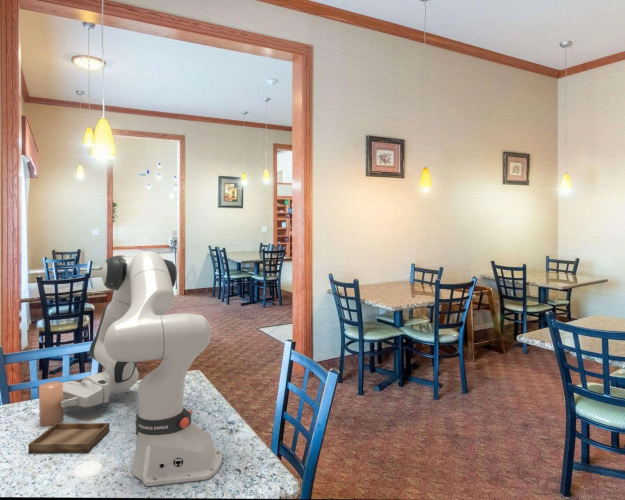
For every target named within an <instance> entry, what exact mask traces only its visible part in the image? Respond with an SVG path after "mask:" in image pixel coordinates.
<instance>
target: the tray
mask: <svg viewBox="0 0 625 500" xmlns="http://www.w3.org/2000/svg"><path fill="white" fill-rule="evenodd" d="M109 432H110V423H109V422H77V423H76V422H74V423H73V422H71V423H69V422H68V423H66V422H64V423H63V422H61V423H56V424H54V425H53V426H49V428H48V429H47V430H45V431H44V432H42V433H41V434H39V436H37V437H36V438H35V439H33V440H32V441H30V443H28V446H27V447H28V450H27V451H28V454H89V453H90V452H91V451H92V449H93V448H94V447H96V446H97V444H98V443H99V442H101V441H102V440H103V438H105V437H106V436H107V435H108V434H109Z"/></svg>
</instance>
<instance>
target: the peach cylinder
mask: <svg viewBox="0 0 625 500" xmlns="http://www.w3.org/2000/svg"><path fill="white" fill-rule="evenodd" d="M63 383H64V382H62V381H57V380H55V381H48V382H44V383H41V384H40V385H39V386H38V400H39V401H38V403H39V404H38V405H39V406H38V407H39V408H38V409H39V426H41V427H43V428H45V427H46V428H47V427H49V428H50V427H52V426H53V425H54V424H56V423H63V422H64V407H60V406H59V405H60V404H59V402H60V401H62V400H63Z"/></svg>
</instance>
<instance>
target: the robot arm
mask: <svg viewBox="0 0 625 500" xmlns="http://www.w3.org/2000/svg"><path fill="white" fill-rule="evenodd" d="M100 272H101V273H100V274H101V279H102V282H103V285H104V286H105V288H106V289H107V290H112V291H113V294H112V298H111V300H109V301H108V302H107V303H106V305H105V307H104V309H103V312H102V315H101V318H100V322H99V325H98V329H97V332H96V334H95V337H94V338H93V340H92V342H91V344H90V346H89V351H88V352H89V356H90V358H91V359H93V360H95V361H97V363H99V364H100V365H101V366H103V368H104V370H103V371H102V372H97V373H95V374H91V375H88V376H85V377H84V378H82V380H81V382H78V381H74V380H69V381H63V382H62V383H63V400H62V401H60V402H59V404H60V405H59V406H60V407H63V408H66V407H71V406H73V407H74V406H78V407H82V408H90V407H94V406H98V405H101V404H107V403H109V401H110V395H116V394H119V393H121V392H124V391H126V390H128V389H130V388H131V387H134V386H135V384H136V383H137V382H138V380H139V371H138V368H137V363H138V362H146V361H147V362H148V361H154V360H161V362H160V364H159V365H158V366H157V367H156V368H155V369H153V370H152V371H150V372H149V373H147V374H145V376H144V377H142V379H141V380H140V381H139V384H138V386H137V413H136V415H135V416H136V417H135V433H136V436H137V437H136V446H135V455H134V459H133V463H132V465H131V473H132V475H133V476H134V477H135V478H137V479H139V480H141V481H142V483H143V485H144V486H147V487H152V486H162V485H169V484H170V485H172V484H178V483H187V482H188V483H189V482H197V481H203V480H204V481H205V480H209V479H211V478H212V477H213V476H215V475H216V474H217V473H218V471H219V470H220V467H222V463H223V452H222V450H221V449H220V448H219V447H214V446H215V445H214V441H213V438H212V436H211V434H210V433H209V432H208V431H206V430H205V429H203V428H201V427H200V426H199V425H197V424H195V423H194V422H192V414H193V413H192V411H193V410H192V409H193V408H190V410H187V409H186V407H184V393H185V392H184V391H185V390H184V389H185V381H186V376H187V374H188V371H189V369H190V367H191V365H192V364H193V362H194V361H195V359H196V358H197V357H198V356H199V355H200V354H201V353H203V352H204V351H205V350H206V349H207V347H208V345H209V343H210V341H211V338H212V328H211V324H210V322H209V320H208V319H207V318H206V317H205V316H204V315H202V314H196V313H187V312H186V313H185V312H184V313H173V314H172V313H171V314H168V312H169V310H171V308H172V307H173V305H174V303H175V298H176V297H175V292H174V287H175V285H176V282H177V279H178V273H177V272H178V271H177V267H176V264H175V263H174V262H173V261H171V260H169V259H165V258H163V257H162V255H161V254H159V253H158V252H156V251H153V250H152V251H151V250H145V251H141V252H139V253H138V254H136V255H133V256H121V255H115V256H111V257H108V258H106V260H105V262H104V263H103V265H102V268H101V271H100Z"/></svg>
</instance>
